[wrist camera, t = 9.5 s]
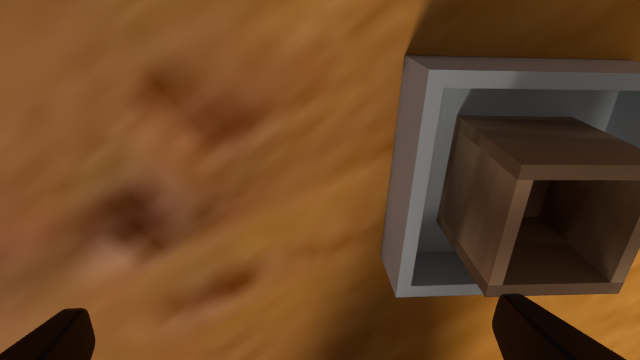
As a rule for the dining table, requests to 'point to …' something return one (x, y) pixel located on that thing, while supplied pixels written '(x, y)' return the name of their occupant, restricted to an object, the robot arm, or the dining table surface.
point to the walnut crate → (541, 205)
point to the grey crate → (486, 100)
